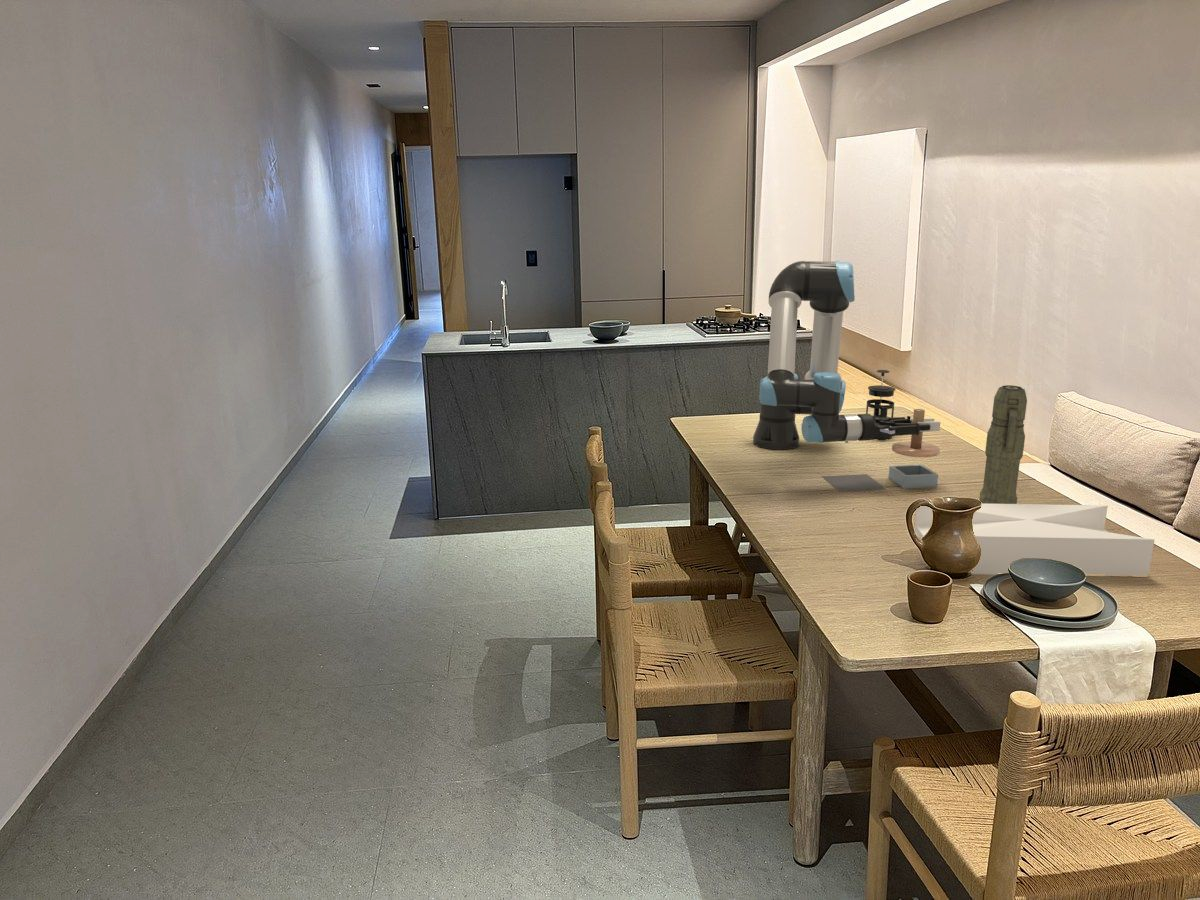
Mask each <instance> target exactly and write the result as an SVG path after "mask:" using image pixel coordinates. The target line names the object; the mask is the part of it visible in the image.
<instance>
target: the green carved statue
mask: <svg viewBox="0 0 1200 900" xmlns="http://www.w3.org/2000/svg"><path fill="white" fill-rule="evenodd" d="M1027 402H1028V398H1027V393H1026V389H1025V388H1022V387H1021V386H1018V385H1013V384H1012V385H1009V384H1008V385H1007V384H1005V385H1001V386H1000V387H998V389H997V391H996V393H995V395H994V397H993V406H992V411H991V412H992V414H991V417H992V421H991V422H990V427H989V428H988V431H987V434H986V435H987V436H986V441H985V450H984V451H985V456H986V457H985V458H986V459H985V468H984V469H985V470H984V477H983V484H982V488H981V491H980V492H979V499H978V500H980V501H981V502H982V503H983V504H1018V497H1017V488H1018V478H1019V471H1020V465H1021V460H1022V458H1023V456H1024V448H1025V440H1026V435H1025V434H1026V433H1025V430H1024V429H1025V428H1024V427H1025V424H1024V421H1025V420H1026V412H1027V404H1028V403H1027Z"/></svg>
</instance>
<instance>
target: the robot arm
mask: <svg viewBox="0 0 1200 900" xmlns="http://www.w3.org/2000/svg"><path fill="white" fill-rule="evenodd" d="M854 281H855V279H854V267H853V264H852V263H850V262H847V261H839V260H836V261H815V260H813V261H811V260H810V261H806V260H800V261H795V262H793V263H791V264H789V265H787V266H786V267H785V268H783V269H782V270H781V271H780V272H779V273H778V275H777V276H776V277H775V278H774V280H773V282H772V284H771V286H770V289H769V293H768V304H769V307H770V308H771V311H770V312H771V313H770V325H769V326H770V329H769V344H768V361H767V376H765V377H764V378H760V381H759V395H758V396H759V404H760V405H759V421H758V423H757V426H756V428H755V431H754V434H753V436H752V437H753V440H752V443H753V445H755V446H756V445H758V446H757V447H759V446H760V447H759V448H762V447H763V449H767V448H768V449H769V450H790V449H795V448H797V447H799V446H800V436H799V435H800V434H799V431H798V428H797V425H796V415H805V416H804V417H803V419H802V423H801V428H800V429H801V434H802V438H803V439H804V440H805V441H806V442H807V443H820V444H823V443H833V442H835V443H836V442H844V443H845V444H848V443H849V442H855V441H858V442H864V441H865V442H866V441H872V440H874V439H873V437H874V435H875V434H876V433H877V434H878V435H885V434H888V436H889V437H892V438H893V437H897V436H911V435H915V434H916V435H918V434H919V432H923V433H926V432H940V430H941V429H940V428H941V421H939V420H938V421H937V420H935V418H934V417H929V418H925V417H924V422H917V423H913V418H912V417H911V416H910V415H907V417H905V416H895V417H894V416H893V417H891V416H887V417H883V418H878V417H873V416H872V415H873V414H871V413H868V414H866V413H858V414H856V413H854V414H853V413H852V414H840V413H841V411H842V408H843V405H844V400H845V396H846V395H845V394H846V388H847V387H846V386H847V385H846V381H845V380H843V379H842V375H841V374H840V372H839V371H838V370H839V369H838V368H839V359H840V348H841V346H840V345H841V340H842V339H841V338H842V328H843V327H842V326H843V318H844V312H845V311H846V310H848V309H849V306H850V303H853V302H855V300H856V299H855V296H856V295H855V283H854ZM802 301H803V302H808V301H809V307H810V308H811V309H812V310H813V321H812V322H813V323H812V324H813V325H812V337H811V338H812V339H811V352H810V364H809V365H810V366H809V370H808V371H807V372H806V373H805V375H804V378H799V376H798V375H797V373H795V370H796V354H797V353H796V350H797V334H798V333H797V332H798V331H797V330H798V328H797V327H798V312H799V311H798V309H799V308H800V307H801V305H802ZM806 415H807V416H806Z"/></svg>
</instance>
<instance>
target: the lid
mask: <svg viewBox="0 0 1200 900" xmlns="http://www.w3.org/2000/svg"><path fill="white" fill-rule="evenodd" d="M912 414H913V415H912V416H913V417H912V419H913V423H917V422H924V418H925V416H926V415H925V414H926V410H925V409H921V408H915V409H913V413H912ZM923 434H924V432H919V434H918V435H916V434H915V435H910V437H911V438H910V441H899V442H894V443H893V444H892V445H891V451H892V452H893V453H895V454H898V455H900V456H905V457H911V458H932V457H936V456H939V455H940V453H941V448H940V447H938V446H937V445H935V444H931V443H928V442H923V436H924V435H923Z"/></svg>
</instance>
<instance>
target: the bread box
mask: <svg viewBox="0 0 1200 900" xmlns="http://www.w3.org/2000/svg"><path fill="white" fill-rule="evenodd" d="M1108 506H1109V505H1106V504H1105V505H1103V504H1102V505H1101V504H1097V505H1095V504H1092V505H1091V504H1044V503H1043V504H1041V503H1039V504H1035V503H1033V504H1031V503H1030V504H1029V503H1017V504H983V503H982V506H981V508H980V509H979V510H977V511H976V512H975V513H974V516H973V519H972V525H973V532H974V535H975V537H976V539H977V541H978V543H979V545H980V548H981V557H980V560H979V562H978V564H977V565H976V567H975V568H974V569H973V571H972V572H971V574H970V575H996V574H998V573H1008V565H1009V563H1010V562H1012V561H1014V560H1016V559H1020V558H1047V559H1054V560H1059V561H1063V562H1066V563H1069V564H1072V565H1075V566H1077V567H1079V568H1081V569H1082V570H1083V571H1084V572H1085V573H1086V574H1087V573H1088V574H1105V575H1148V576H1149V574H1150V569H1151V568H1150V567H1151V563H1152V556H1153V550H1154V546H1155V539H1153V538H1147V537H1140V536H1135V535H1129V534H1128V535H1127V534H1122V533H1115V532H1110V531H1108V530H1107V529H1106V528H1105V527H1106V521H1107V520H1106V518H1107V513H1108ZM931 523H932V510H931V508H930V507H927V506H920V507H919V508H917V507H916V516H915V527H914V532H915V531H916V533H917V535H918V537H919V538H920V539H922V538H923V537H924V535H925V534H926V533H927V532H928V530H929V528H930V526H931Z"/></svg>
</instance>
